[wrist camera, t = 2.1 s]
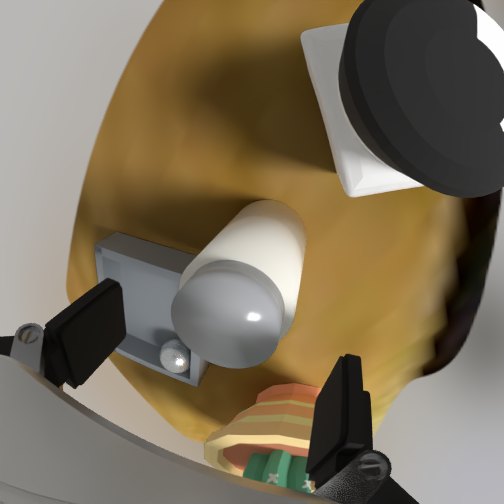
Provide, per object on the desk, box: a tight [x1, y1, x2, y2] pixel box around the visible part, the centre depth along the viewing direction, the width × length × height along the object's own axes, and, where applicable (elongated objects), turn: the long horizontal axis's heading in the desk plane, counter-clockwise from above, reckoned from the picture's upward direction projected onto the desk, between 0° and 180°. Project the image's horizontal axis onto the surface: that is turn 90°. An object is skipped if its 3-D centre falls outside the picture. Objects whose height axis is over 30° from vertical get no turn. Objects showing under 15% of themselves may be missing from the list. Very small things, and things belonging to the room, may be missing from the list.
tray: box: [94, 232, 209, 387], centre depth 23 cm, size 12×10×3 cm
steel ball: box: [159, 339, 191, 373], centre depth 24 cm, size 3×3×3 cm
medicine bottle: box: [301, 0, 504, 198], centre depth 9 cm, size 7×7×12 cm
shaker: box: [171, 200, 307, 368], centre depth 15 cm, size 5×5×10 cm
